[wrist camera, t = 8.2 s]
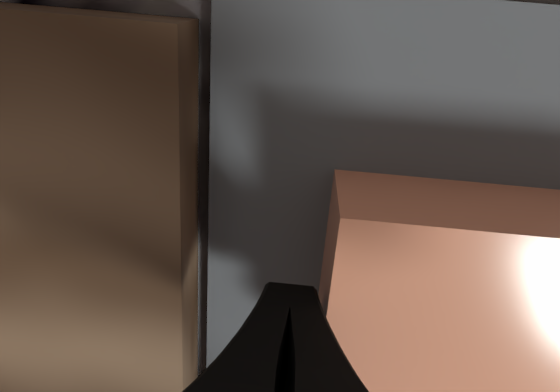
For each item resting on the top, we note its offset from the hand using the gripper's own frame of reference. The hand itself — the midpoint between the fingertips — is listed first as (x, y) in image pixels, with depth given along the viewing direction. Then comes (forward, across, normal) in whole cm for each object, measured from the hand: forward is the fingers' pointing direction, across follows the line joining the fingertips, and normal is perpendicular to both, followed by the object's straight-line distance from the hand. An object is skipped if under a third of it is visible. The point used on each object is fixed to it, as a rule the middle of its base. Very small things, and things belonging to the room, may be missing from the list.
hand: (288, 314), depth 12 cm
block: (+2, -5, 0) cm, 5 cm away
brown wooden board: (+2, +9, 0) cm, 9 cm away
